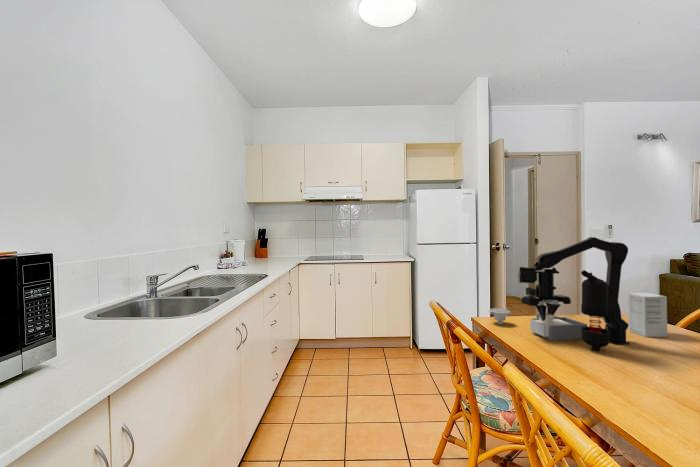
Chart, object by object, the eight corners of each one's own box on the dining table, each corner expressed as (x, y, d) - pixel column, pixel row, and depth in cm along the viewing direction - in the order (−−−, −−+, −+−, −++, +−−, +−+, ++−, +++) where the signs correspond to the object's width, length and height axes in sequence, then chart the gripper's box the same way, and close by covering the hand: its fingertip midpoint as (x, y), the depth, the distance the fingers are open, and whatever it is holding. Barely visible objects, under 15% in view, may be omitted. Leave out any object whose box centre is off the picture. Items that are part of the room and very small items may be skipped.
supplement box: (668, 337, 143) (668, 296, 143) (645, 337, 143) (645, 296, 143) (648, 330, 153) (648, 292, 152) (627, 330, 153) (627, 292, 153)
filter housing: (587, 338, 142) (587, 324, 142) (551, 340, 140) (551, 326, 140) (555, 326, 160) (555, 313, 160) (523, 328, 158) (523, 315, 158)
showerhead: (516, 309, 164) (500, 311, 160) (516, 324, 164) (500, 327, 160) (499, 305, 173) (484, 307, 168) (499, 320, 173) (485, 322, 168)
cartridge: (573, 335, 143) (573, 315, 143) (544, 336, 142) (544, 316, 141) (558, 329, 152) (558, 310, 152) (530, 330, 150) (530, 311, 150)
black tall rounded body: (594, 355, 124) (594, 271, 123) (572, 347, 133) (572, 269, 132) (625, 352, 126) (625, 270, 126) (602, 344, 135) (602, 267, 135)
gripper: (552, 280, 155) (553, 314, 155) (513, 281, 153) (514, 316, 153) (571, 284, 144) (571, 321, 144) (530, 285, 142) (530, 323, 142)
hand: (546, 320), depth 146 cm, fingers closed on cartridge, 2 cm apart
